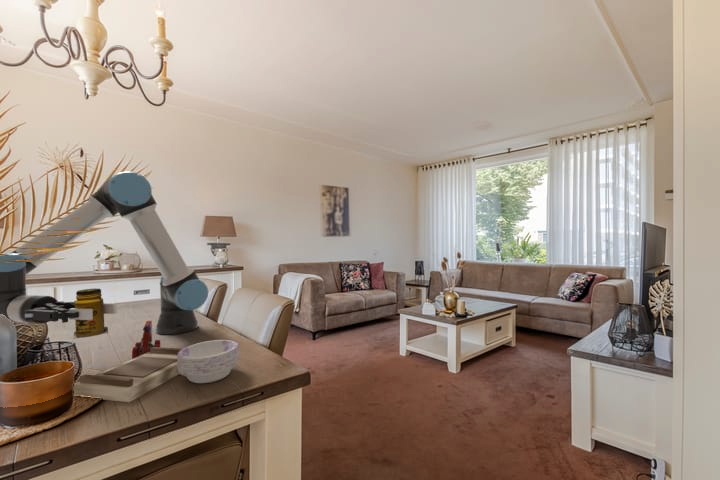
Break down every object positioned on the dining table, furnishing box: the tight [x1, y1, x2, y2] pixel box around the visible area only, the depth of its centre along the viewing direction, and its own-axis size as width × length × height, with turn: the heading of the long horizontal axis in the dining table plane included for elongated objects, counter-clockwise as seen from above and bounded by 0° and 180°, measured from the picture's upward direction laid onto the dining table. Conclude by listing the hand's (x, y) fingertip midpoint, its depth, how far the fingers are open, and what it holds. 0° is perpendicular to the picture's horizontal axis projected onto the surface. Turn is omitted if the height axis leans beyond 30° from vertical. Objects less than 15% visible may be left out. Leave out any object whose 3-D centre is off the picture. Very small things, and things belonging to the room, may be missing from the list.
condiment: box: [72, 288, 109, 340], centre depth 91 cm, size 7×8×12 cm
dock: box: [73, 346, 183, 403], centre depth 91 cm, size 24×16×4 cm, turn 169°
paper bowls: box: [177, 339, 240, 384], centre depth 91 cm, size 15×15×8 cm
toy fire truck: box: [131, 320, 161, 359], centre depth 108 cm, size 7×12×10 cm, turn 26°
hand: (103, 311), depth 89 cm, fingers closed on condiment, 6 cm apart
